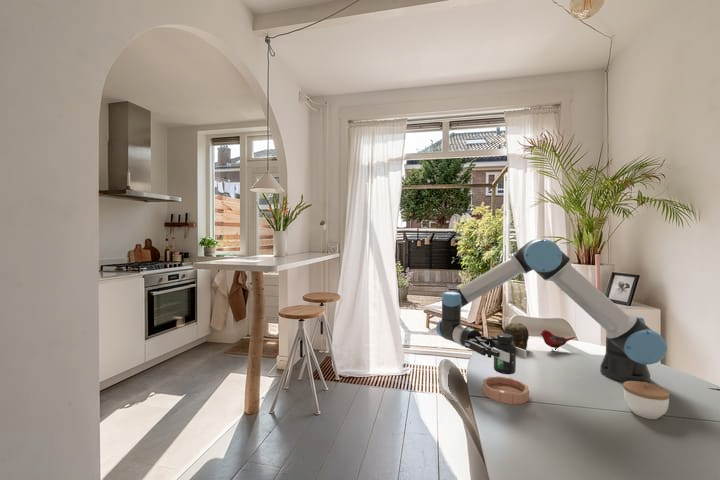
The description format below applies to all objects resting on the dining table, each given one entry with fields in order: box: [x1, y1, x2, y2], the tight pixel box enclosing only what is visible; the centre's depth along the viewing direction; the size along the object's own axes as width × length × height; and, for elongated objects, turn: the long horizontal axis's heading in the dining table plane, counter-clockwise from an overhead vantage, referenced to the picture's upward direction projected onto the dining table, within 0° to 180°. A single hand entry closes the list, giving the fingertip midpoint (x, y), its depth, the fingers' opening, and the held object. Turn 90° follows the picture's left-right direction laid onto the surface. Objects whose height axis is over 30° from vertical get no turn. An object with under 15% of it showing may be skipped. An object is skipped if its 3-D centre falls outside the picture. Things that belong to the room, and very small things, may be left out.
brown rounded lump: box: [503, 322, 530, 351], centre depth 163 cm, size 11×11×12 cm
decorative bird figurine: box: [540, 329, 576, 350], centre depth 160 cm, size 3×18×10 cm, turn 96°
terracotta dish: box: [482, 376, 530, 405], centre depth 115 cm, size 14×14×3 cm
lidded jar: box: [622, 381, 671, 420], centre depth 102 cm, size 11×11×9 cm
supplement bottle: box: [493, 332, 517, 375], centre depth 115 cm, size 7×7×12 cm
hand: (517, 356), depth 111 cm, fingers closed on supplement bottle, 7 cm apart
